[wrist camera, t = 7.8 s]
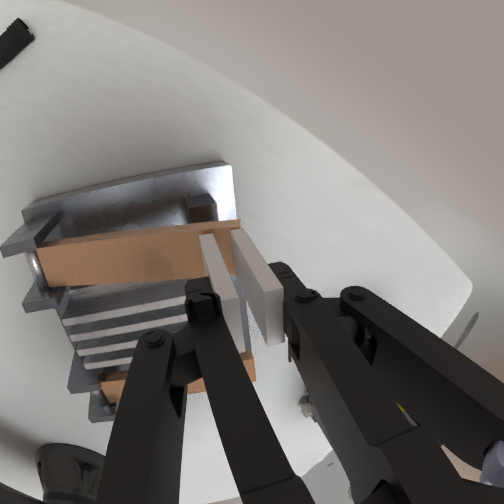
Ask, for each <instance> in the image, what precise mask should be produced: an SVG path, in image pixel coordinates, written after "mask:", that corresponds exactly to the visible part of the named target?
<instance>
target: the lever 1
mask: <svg viewBox="0 0 504 504" xmlns="http://www.w3.org/2000/svg"><path fill="white" fill-rule="evenodd" d="M240 228H241V220H240V219H234V220H223V221H213V222H202V223H192V224H182V225H173V226H163V227H154V228H145V229H137V230H128V231H120V232H111V233H103V234H95V235H88V236H80V237H73V238H65V239H58V240H51V241H44V242H43V243H42V244H41V245H40V246H39V247H38V249H36V251H37V254H38V257H39V260H40V263H41V266H42V269H43V271H44V274H45V277H46V280H47V282H48V285H49V287H58V286H78V285H96V284H114V283H130V282H146V281H161V280H175V279H189V278H201V277H206V276H205V270H204V264H203V258H202V252H201V246H200V239H199V235H205V234H211V233H213V235H214V238H215V240H216V243H217V245H218V248H219V250H220V253H221V255H222V258H223V260H224V263H225V265H226V268H227V270H228V272H229V275H235V273H234V264H233V256H232V247H231V238H230V230H234V229H240Z"/></svg>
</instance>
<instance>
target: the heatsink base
mask: <svg viewBox="0 0 504 504" xmlns="http://www.w3.org/2000/svg"><path fill="white" fill-rule="evenodd" d="M22 215H23V218H24V222H25V223H24V224H23V225H22V226H21V227H20V228H19V229H18V230H17V231H16V232H15V233H13V234H12V235H11V236H10V237H9V238H8V239H7V240H6V241H5V242H4V243H3V244H2V245H1V246H0V250H1V253H2V256H3V258H5V257H9V256H12V255H16V254H20V253H24V252H25V255H26V258H27V261H28V264H29V267H30V269H31V272H32V275H33V277H34V280H35V282H34V283H33V285H32V287H31V288H30V290H29V292H28V293H27V295H26V297H25V299H24V300H23V302H22V306H23V308H24V310H25V312H26V313H29V312H35V311H40V310H45V309H51V308H55V309H56V311H57V314H58V316H59V318H60V320H61V322H62V325H63V327H64V329H65V331H66V333H67V335H68V337H69V339H70V341H71V343H72V345H73V347H74V349H75V353H74V357H73V361H72V366H71V371H70V376H69V381H68V386H67V388H68V390H69V391H70V393H71V394H74V393H84V392H91V393H90V402H89V413H88V419H89V420H90V421H91V423H96V422H106V421H114V420H115V416H116V412H117V408H118V405H119V403H110V402H109V400H108V399H107V397H106V395H105V394H104V392H103V390H102V389H101V385H102V374H103V373H105V372H115V371H124V370H129V367H130V364H131V361H132V357H133V354H134V351H135V348H136V345H137V342H138V340H139V338H140V337H141V336H142V335H143V334H144V333H146V332H148V331H151V330H156V329H163V330H166V331H168V332H170V334H173V333H176V332H178V331H180V330H181V329H183V328H184V327H185V326H186V325H187V323H188V318H187V314H186V310H185V305H184V303H185V300H186V295H185V287H184V286H185V284H186V283H187V281H188V280H191V279H196V278H189V279H175V280H161V281H146V282H130V283H114V284H96V285H78V286H58V287H49V285H48V282H47V280H46V277H45V274H44V271H43V269H42V266H41V263H40V260H39V257H38V254H37V251H36V249H38V247H39V246H40V245H41V244H42V243H43V242H44V241H51V240H58V239H65V238H73V237H80V236H88V235H95V234H103V233H111V232H120V231H128V230H137V229H145V228H154V227H163V226H173V225H182V224H192V223H202V222H213V221H223V220H234V219H237V216H236V207H235V197H234V187H233V178H232V168H231V165H230V164H229V163H227V162H225V161H218V162H211V163H204V164H198V165H192V166H186V167H180V168H174V169H169V170H163V171H158V172H153V173H148V174H143V175H138V176H133V177H128V178H123V179H119V180H114V181H110V182H106V183H101V184H97V185H93V186H89V187H85V188H81V189H77V190H73V191H69V192H66V193H62V194H58V195H55V196H51V197H47V198H44V199H40V200H37V201H34V202H32V203H31V204H30V205H28V206H27V207H26V208H24V209H23V210H22ZM230 277H231V280H232V282H233V285H234V287H235V289H236V292H237V294H238V297H239V303H240V312H241V320H242V328H243V336H244V344H245V351H246V350H251V343H250V334H249V326H248V317H247V308H246V299H245V296H244V294H243V291H242V289H241V287H240V285H239V282H238V280H237V278H236V276H235V275H230Z"/></svg>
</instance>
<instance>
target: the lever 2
mask: <svg viewBox="0 0 504 504" xmlns="http://www.w3.org/2000/svg"><path fill="white" fill-rule="evenodd" d="M239 354H240V357H241V359H242V361H243V364H244V366H245V368H246V371H247V373H248V375H249V377H250V380H251V382H254V381H256V374H255V365H254V358H253V355H252V352H251V350H246V351H245V352H241V353H239ZM127 374H128V370H124V371H115V372H105V373H103V374H102V385H101V389H102V390H103V392H104V394H105V395H106V397H107V399H108V400H109V402H110V403H119V401H120V398H121V394H122V391H123V387H124V384H125V380H126V377H127ZM204 391H206V388H205V385H204V381H203V377H202V378H200V379H198V380H196V381H194V382H192V383H190V384H188V392H187V394H192V393H198V392H204Z"/></svg>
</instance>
